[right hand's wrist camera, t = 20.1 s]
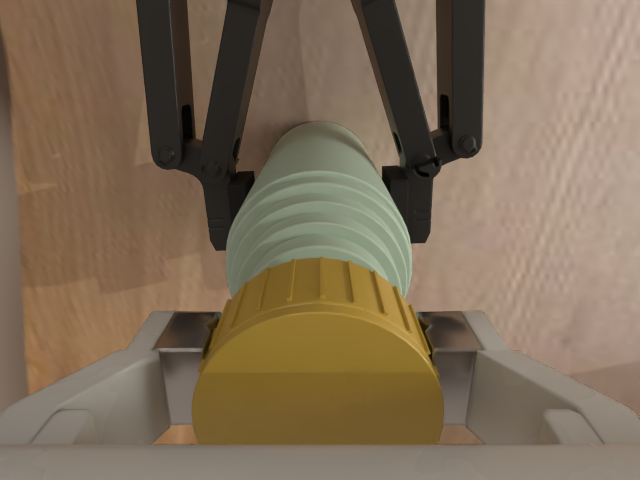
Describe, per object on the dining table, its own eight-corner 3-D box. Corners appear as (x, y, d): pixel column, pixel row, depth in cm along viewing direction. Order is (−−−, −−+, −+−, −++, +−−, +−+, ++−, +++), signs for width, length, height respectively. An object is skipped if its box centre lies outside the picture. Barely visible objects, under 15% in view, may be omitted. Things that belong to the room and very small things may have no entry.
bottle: (247, 185, 26) (102, 427, 9) (307, 98, 25) (277, 185, 7) (329, 242, 28) (346, 551, 10) (392, 163, 26) (545, 374, 8)
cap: (458, 370, 10) (493, 448, 8) (293, 456, 11) (287, 545, 9) (349, 212, 9) (359, 258, 7) (172, 325, 10) (132, 395, 8)
